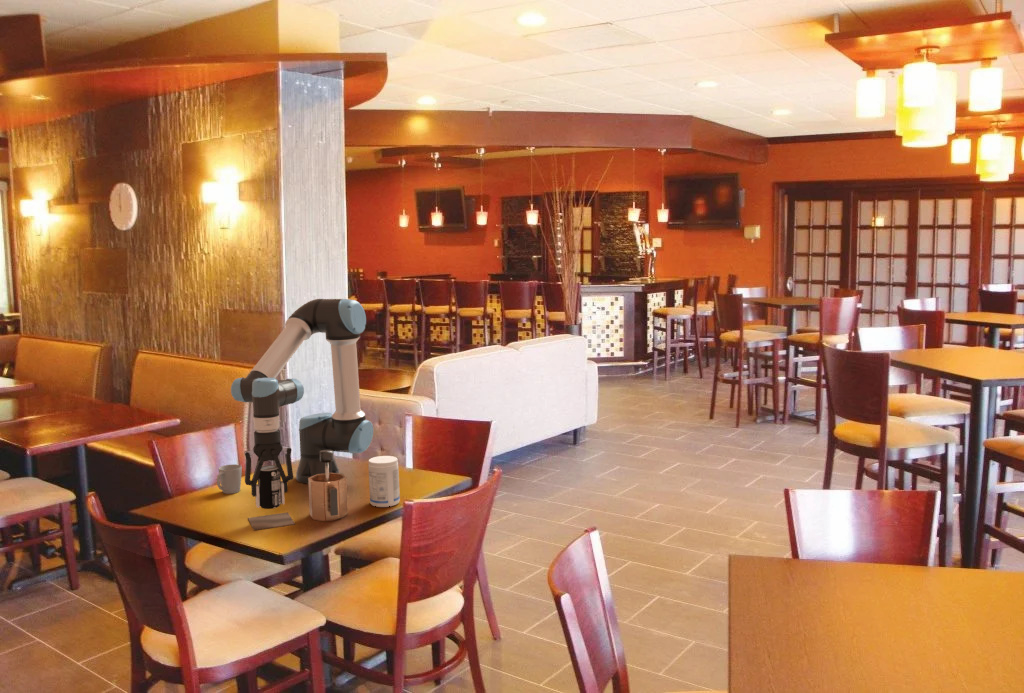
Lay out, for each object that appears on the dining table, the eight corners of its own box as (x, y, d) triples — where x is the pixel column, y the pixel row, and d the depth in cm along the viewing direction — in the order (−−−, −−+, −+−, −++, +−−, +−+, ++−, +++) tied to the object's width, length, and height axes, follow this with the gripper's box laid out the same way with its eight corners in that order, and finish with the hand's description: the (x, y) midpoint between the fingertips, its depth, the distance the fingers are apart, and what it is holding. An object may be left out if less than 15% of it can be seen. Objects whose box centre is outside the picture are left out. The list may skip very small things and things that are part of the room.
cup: (247, 489, 289) (246, 465, 288) (227, 497, 280) (226, 472, 279) (230, 487, 292) (229, 463, 291) (209, 495, 283) (208, 470, 282)
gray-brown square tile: (248, 518, 258) (248, 517, 258) (287, 513, 263) (287, 512, 263) (253, 530, 247) (253, 529, 247) (295, 524, 252) (295, 523, 252)
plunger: (313, 504, 262) (311, 450, 260) (337, 500, 265) (335, 447, 263) (318, 510, 255) (316, 455, 253) (343, 507, 258) (341, 452, 256)
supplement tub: (390, 497, 279) (388, 453, 277) (405, 503, 271) (404, 459, 269) (364, 503, 272) (362, 458, 271) (379, 510, 265) (377, 464, 263)
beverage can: (258, 504, 256) (256, 466, 255) (280, 502, 259) (278, 463, 257) (259, 510, 250) (258, 471, 249) (282, 508, 252) (281, 469, 251)
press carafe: (307, 513, 263) (306, 475, 262) (341, 508, 267) (340, 471, 266) (316, 526, 251) (315, 486, 249) (352, 520, 255) (351, 482, 254)
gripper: (234, 435, 244) (238, 512, 247) (302, 429, 252) (305, 503, 255) (231, 430, 251) (235, 505, 254) (297, 424, 259) (300, 497, 262)
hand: (270, 504), depth 254 cm, fingers closed on beverage can, 7 cm apart
